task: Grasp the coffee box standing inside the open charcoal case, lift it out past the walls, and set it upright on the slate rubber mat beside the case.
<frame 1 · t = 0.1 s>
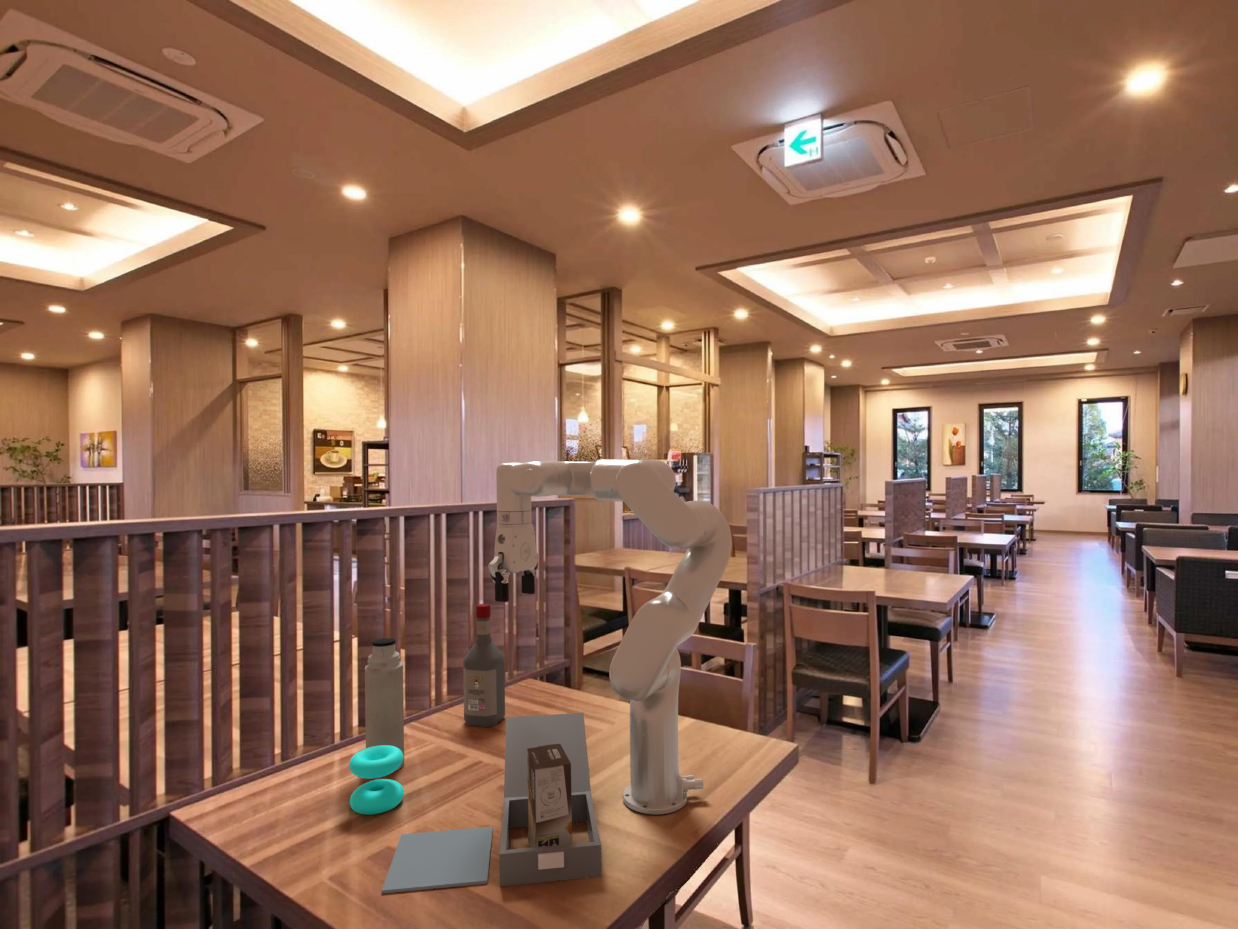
hand: (515, 597, 145), 37 cm above the table, tool pointing down, fingers open, 9 cm apart
slate mat: (441, 859, 111), on the table
donuts: (377, 805, 130), on the table
liquor: (484, 721, 173), on the table
coffee box: (549, 850, 114), resting in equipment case
thermos bottle: (385, 767, 147), on the table
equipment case: (549, 849, 114), on the table
case lid: (546, 754, 131), point 9 cm above the table, hinge at 150.0°
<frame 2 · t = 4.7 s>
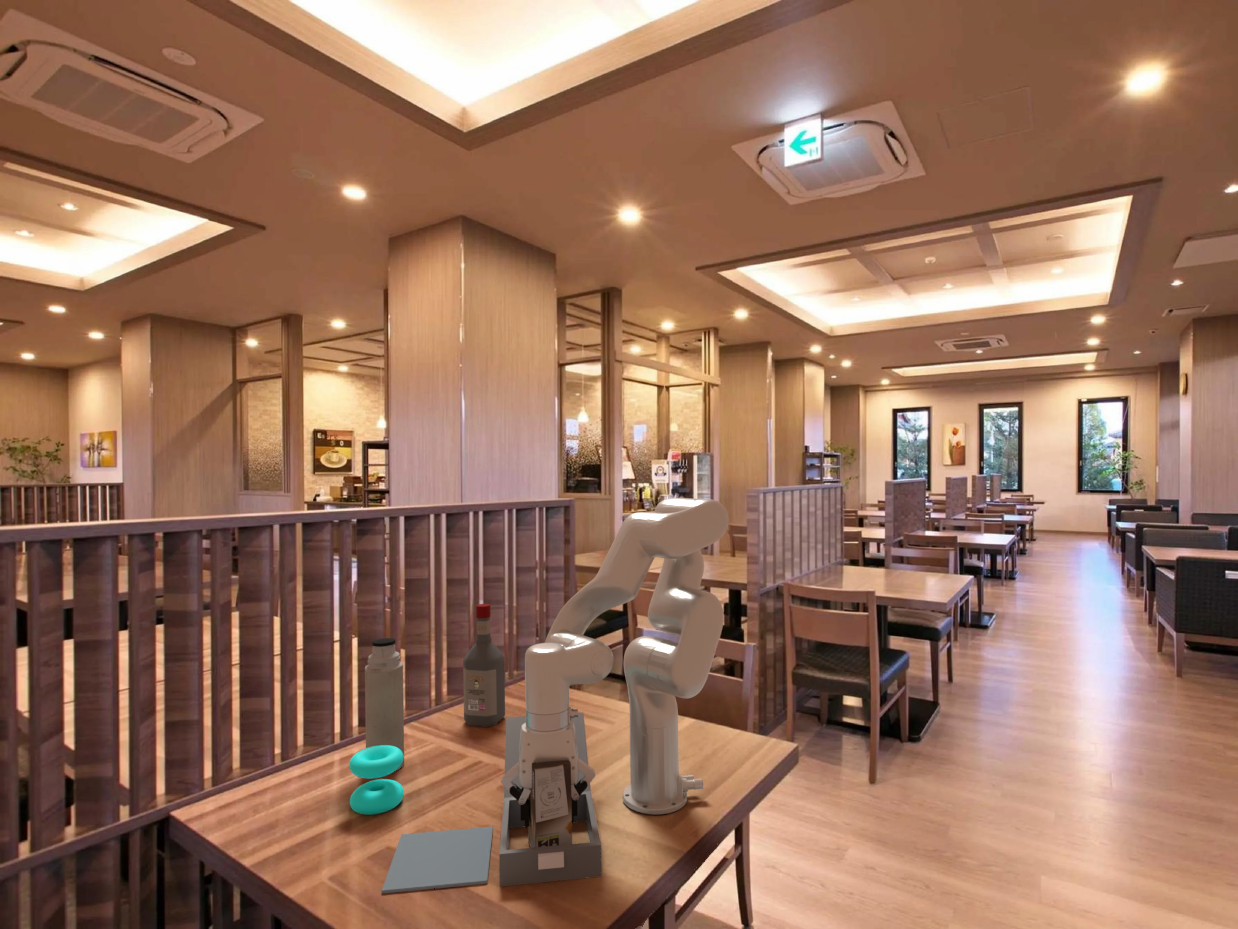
hand: (549, 821, 114), 5 cm above the table, tool pointing down, fingers closed on coffee box, 7 cm apart
coffee box: (549, 850, 114), resting in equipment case, touching gripper
everything else where it was.
when the fingers open (7 cm above the table, at t = 14.4 s): coffee box drops 2 cm, resting on slate mat.
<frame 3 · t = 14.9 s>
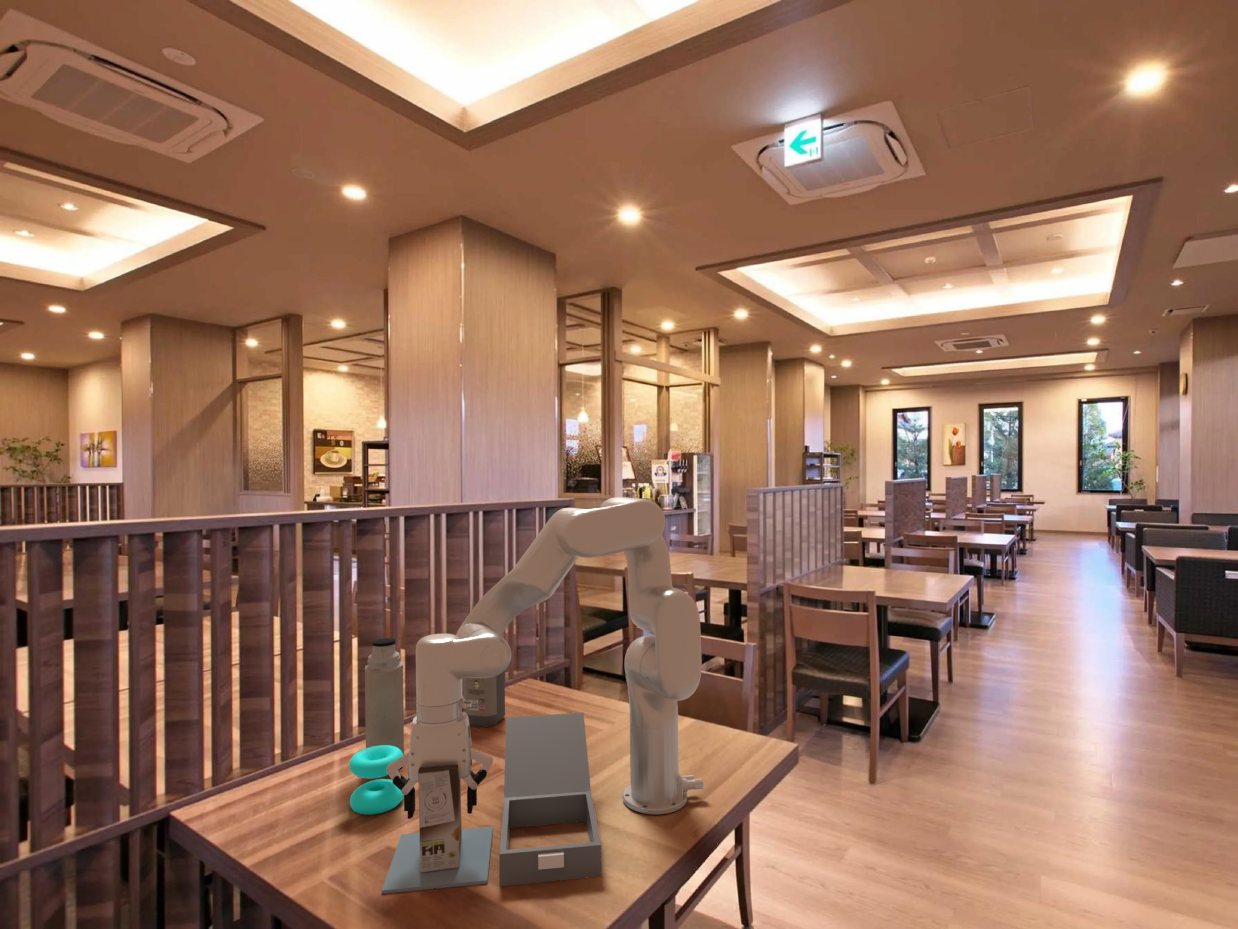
hand: (441, 812, 112), 8 cm above the table, tool pointing down, fingers open, 9 cm apart
coffee box: (442, 856, 112), resting on slate mat
everything else where it was.
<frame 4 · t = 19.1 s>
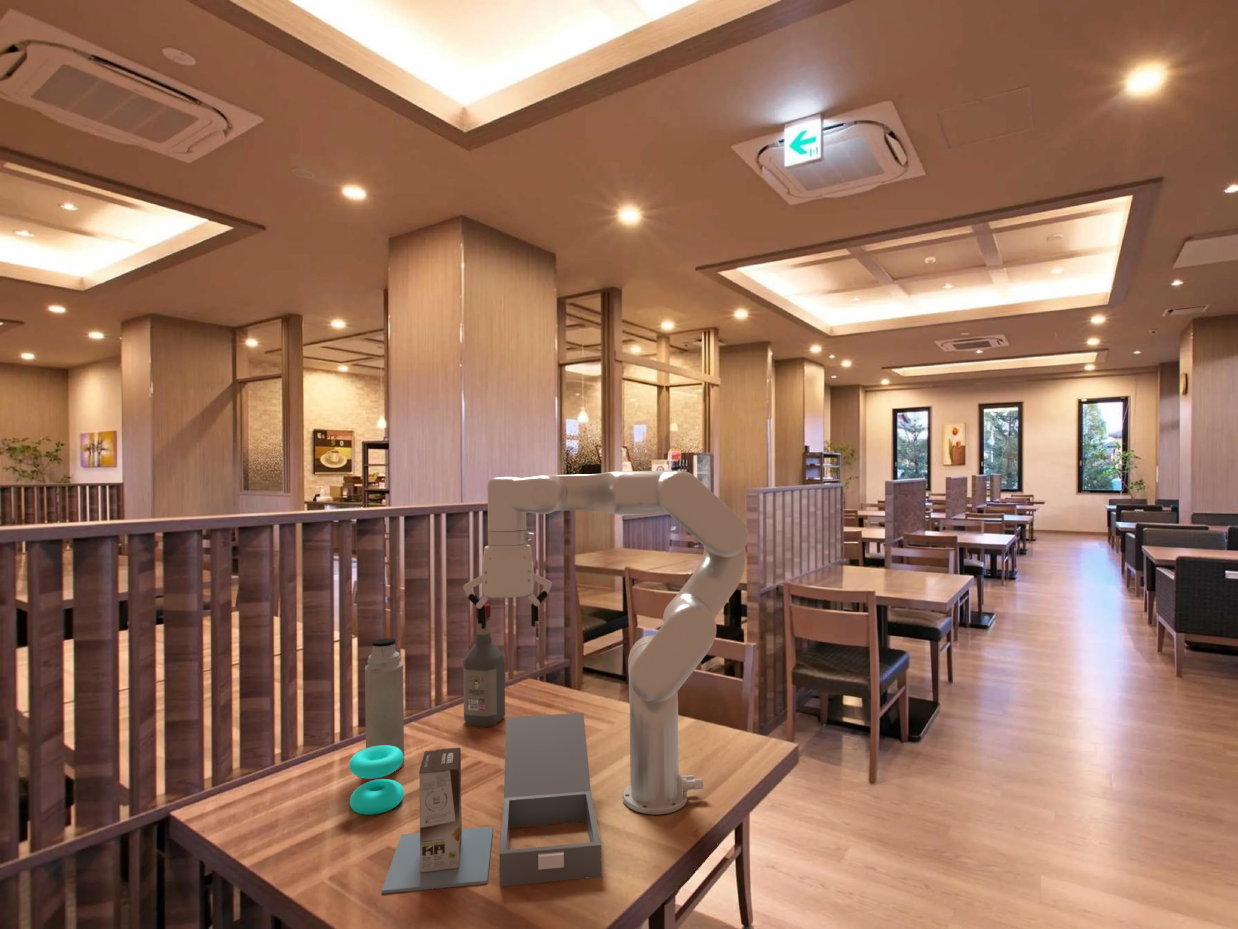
hand: (508, 626, 131), 34 cm above the table, tool pointing down, fingers open, 9 cm apart
nothing on the table moved.
at the end: coffee box inside the target area on the slate mat (0.2 cm from its centre), point 0.3 cm above the slate mat's base; coffee box tilted 0°; the gripper is holding nothing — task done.
